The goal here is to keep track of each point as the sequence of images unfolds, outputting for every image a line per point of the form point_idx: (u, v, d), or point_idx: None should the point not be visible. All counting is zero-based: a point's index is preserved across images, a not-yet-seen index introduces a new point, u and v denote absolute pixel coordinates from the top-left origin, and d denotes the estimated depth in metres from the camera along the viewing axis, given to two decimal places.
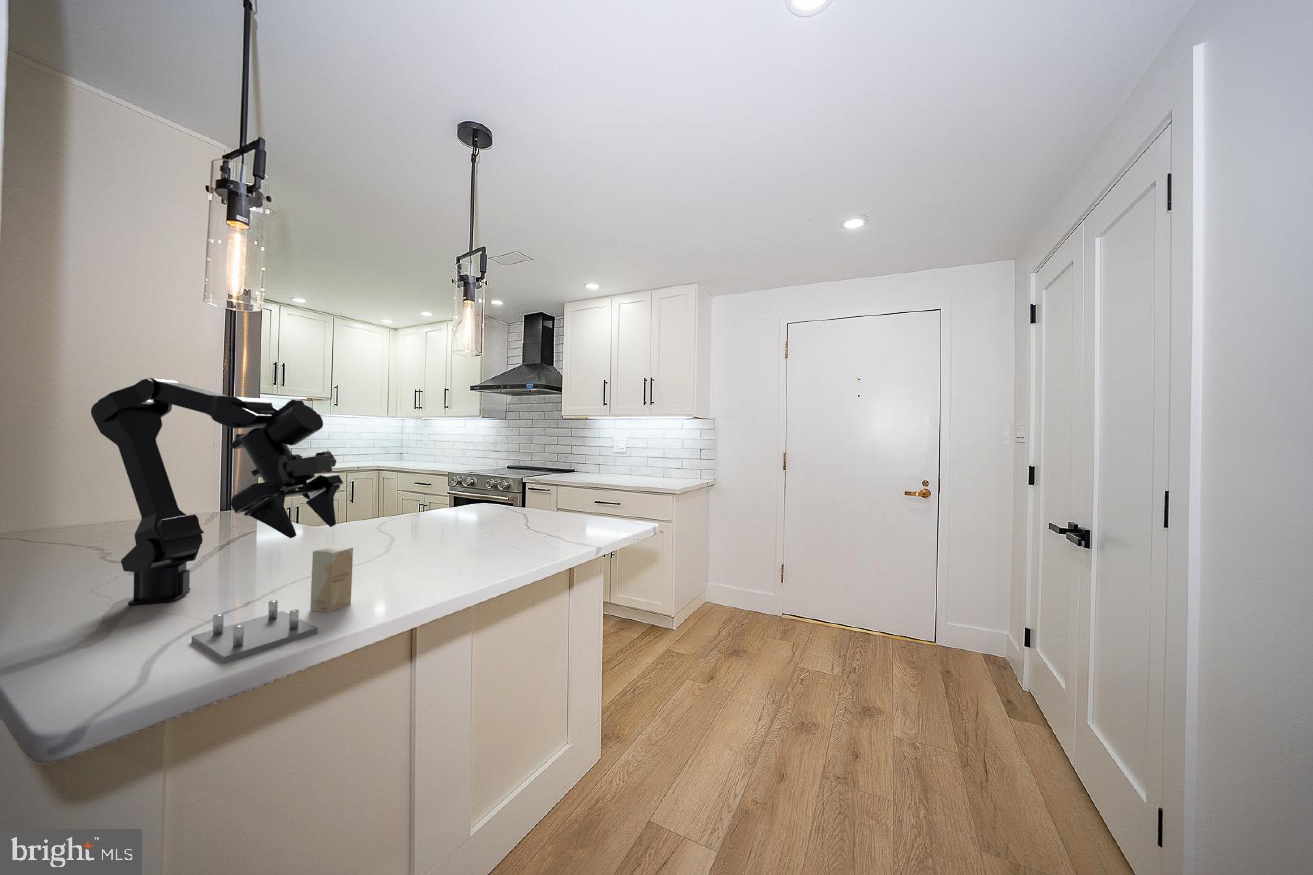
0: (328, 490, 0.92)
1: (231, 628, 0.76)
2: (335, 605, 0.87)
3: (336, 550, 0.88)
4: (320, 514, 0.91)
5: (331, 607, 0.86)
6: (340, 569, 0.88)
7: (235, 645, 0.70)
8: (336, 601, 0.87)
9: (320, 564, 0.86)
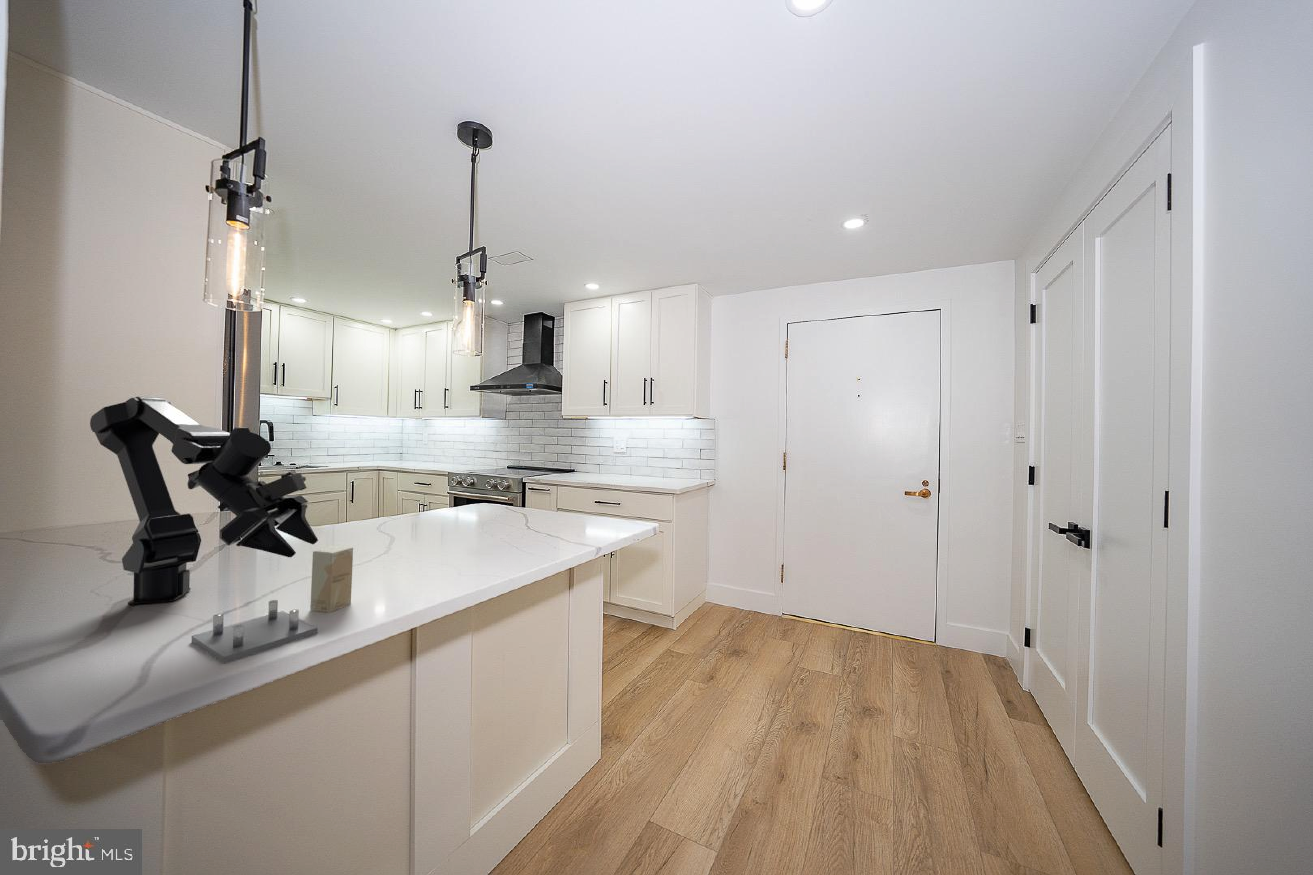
0: (300, 510, 0.91)
1: (231, 628, 0.76)
2: (335, 605, 0.87)
3: (336, 550, 0.88)
4: (297, 535, 0.91)
5: (331, 607, 0.86)
6: (340, 569, 0.88)
7: (235, 645, 0.70)
8: (336, 601, 0.87)
9: (320, 564, 0.86)
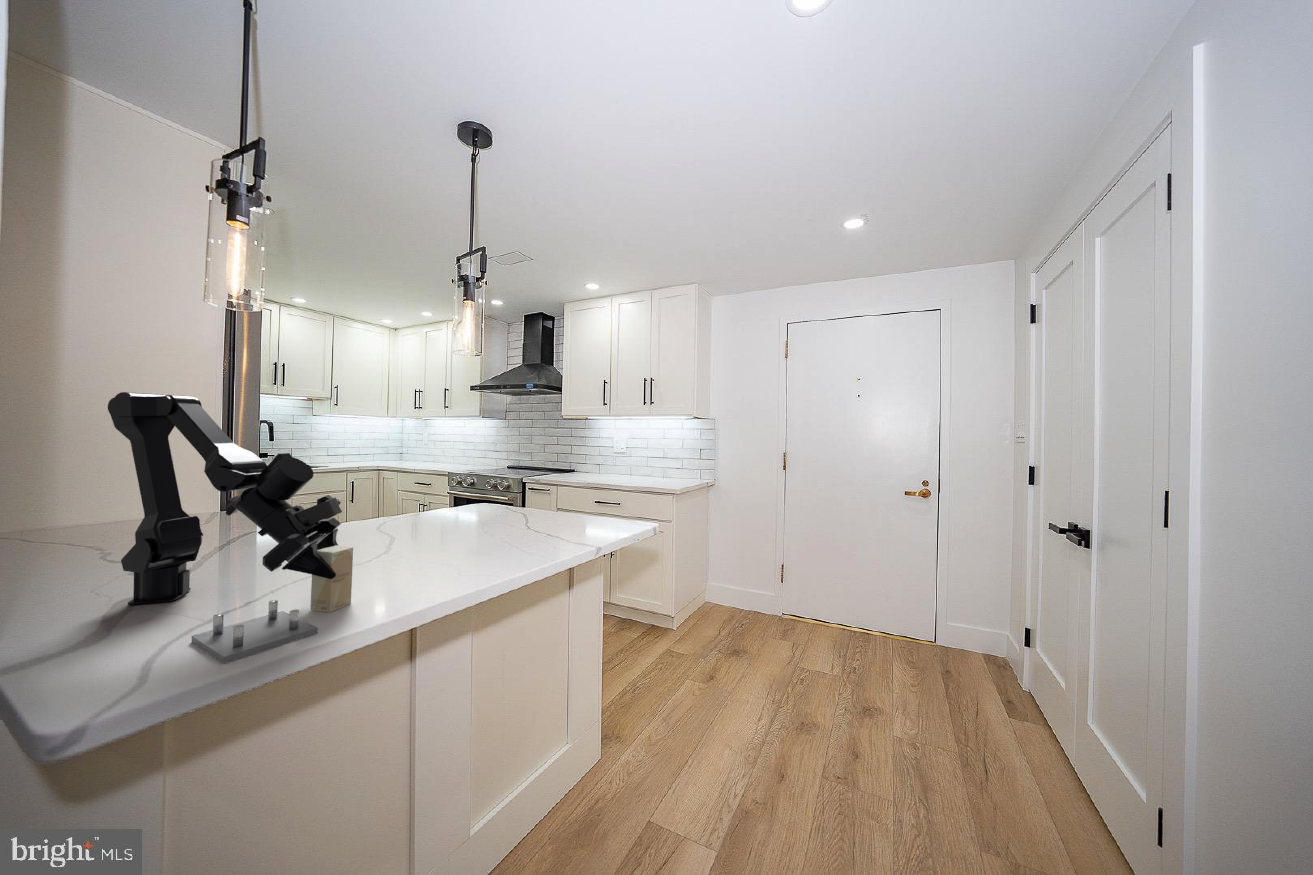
0: (331, 534, 0.92)
1: (231, 628, 0.76)
2: (335, 605, 0.87)
3: (336, 550, 0.88)
4: None
5: (331, 607, 0.86)
6: (340, 568, 0.88)
7: (235, 645, 0.70)
8: (336, 601, 0.87)
9: None
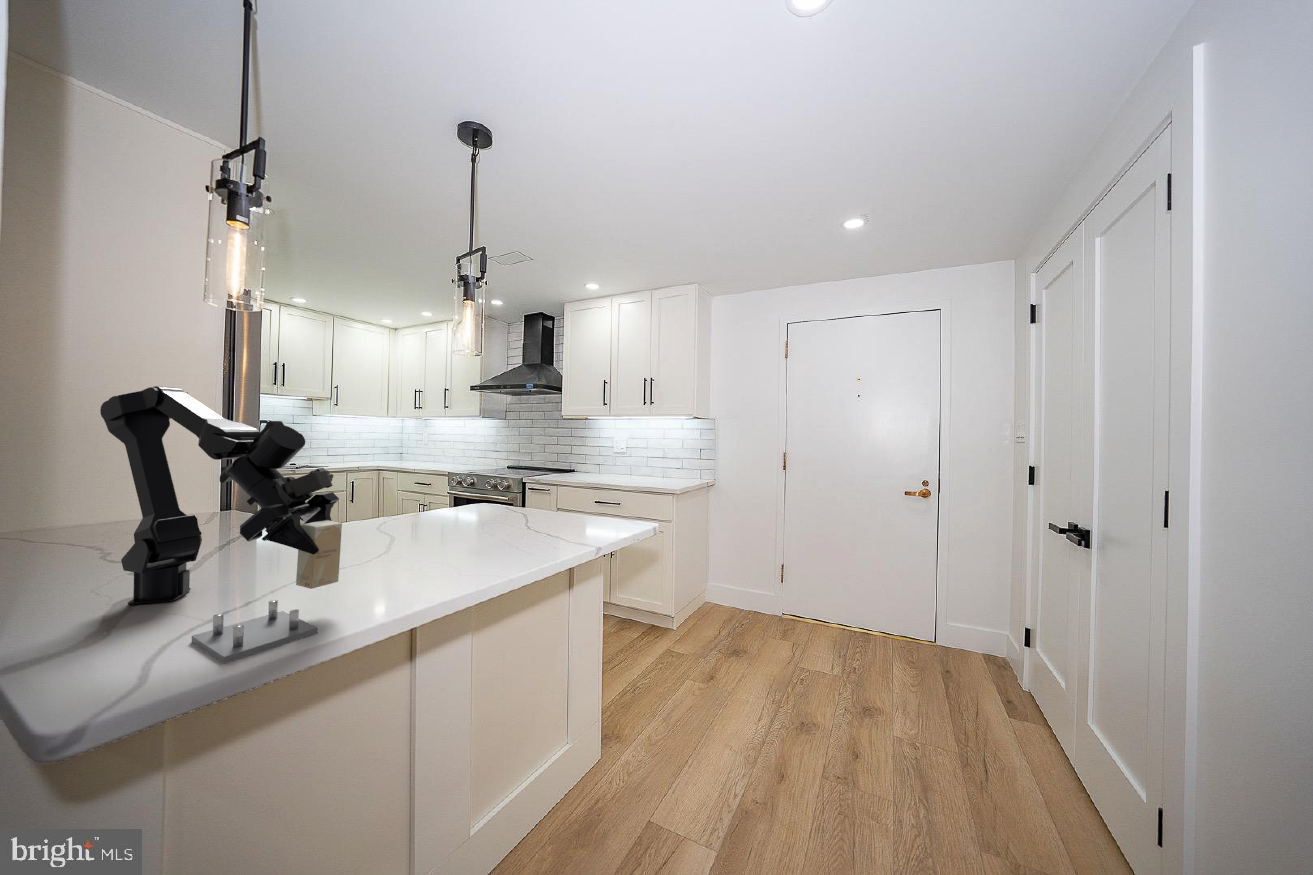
0: (324, 509, 0.89)
1: (231, 628, 0.76)
2: (319, 582, 0.84)
3: (322, 525, 0.84)
4: None
5: (314, 583, 0.83)
6: (326, 544, 0.84)
7: (235, 645, 0.70)
8: (320, 578, 0.84)
9: None
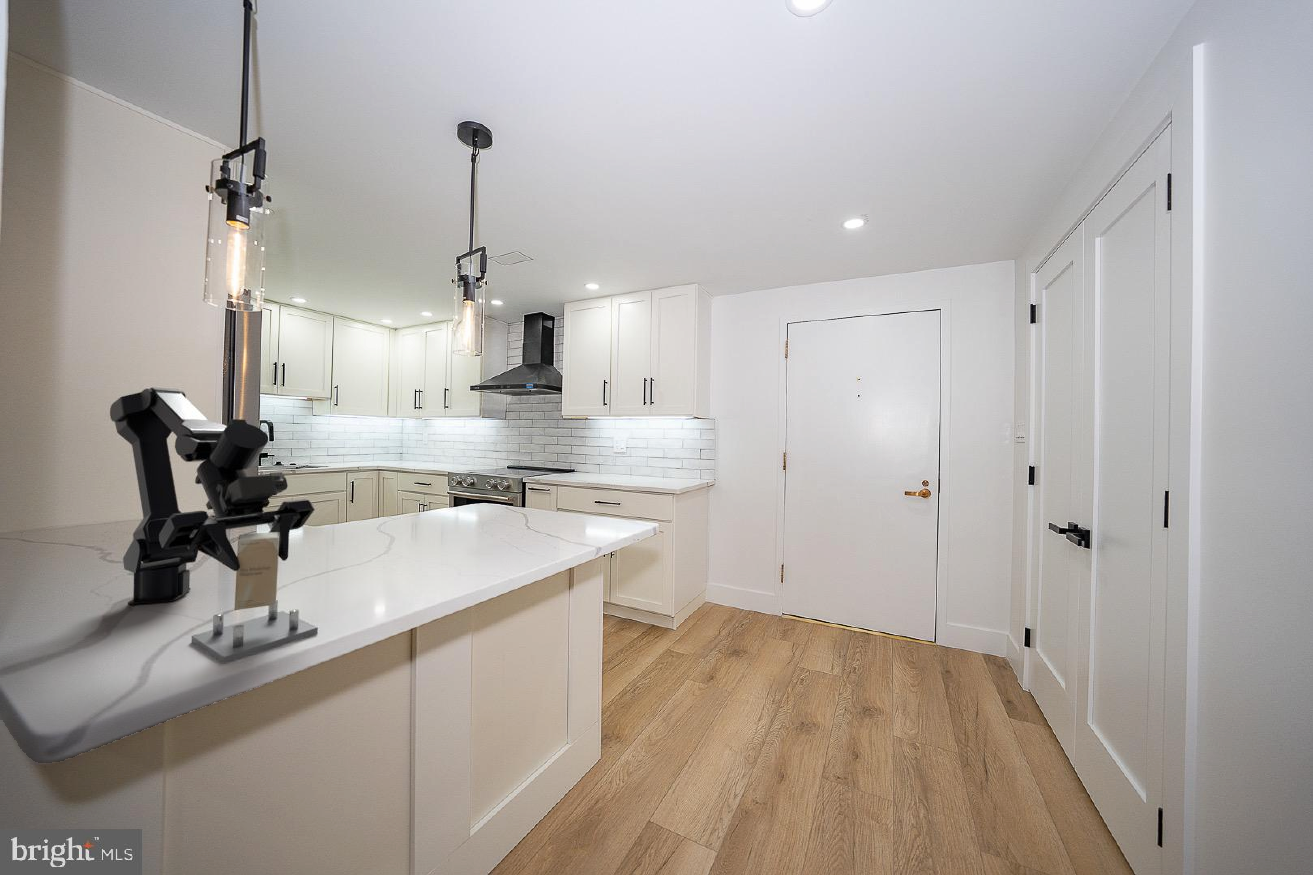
0: (280, 518, 0.79)
1: (231, 628, 0.76)
2: (246, 603, 0.73)
3: (252, 537, 0.74)
4: None
5: (238, 605, 0.73)
6: (254, 560, 0.73)
7: (235, 645, 0.70)
8: (247, 598, 0.73)
9: None
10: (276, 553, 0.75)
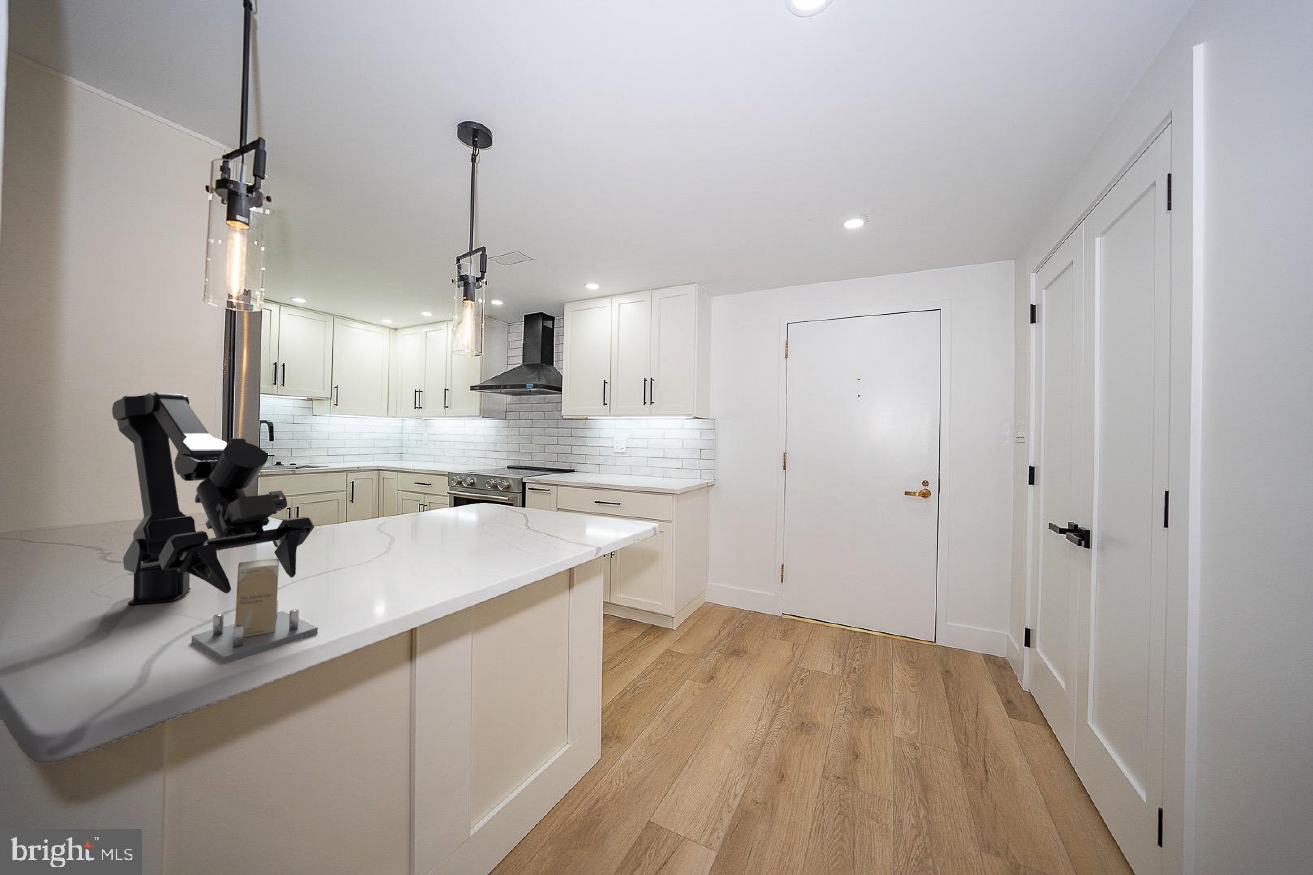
0: (287, 535, 0.80)
1: (231, 628, 0.76)
2: (246, 631, 0.73)
3: (252, 565, 0.74)
4: (283, 564, 0.80)
5: None
6: (254, 588, 0.74)
7: (235, 645, 0.70)
8: (247, 626, 0.73)
9: None
10: (276, 580, 0.75)
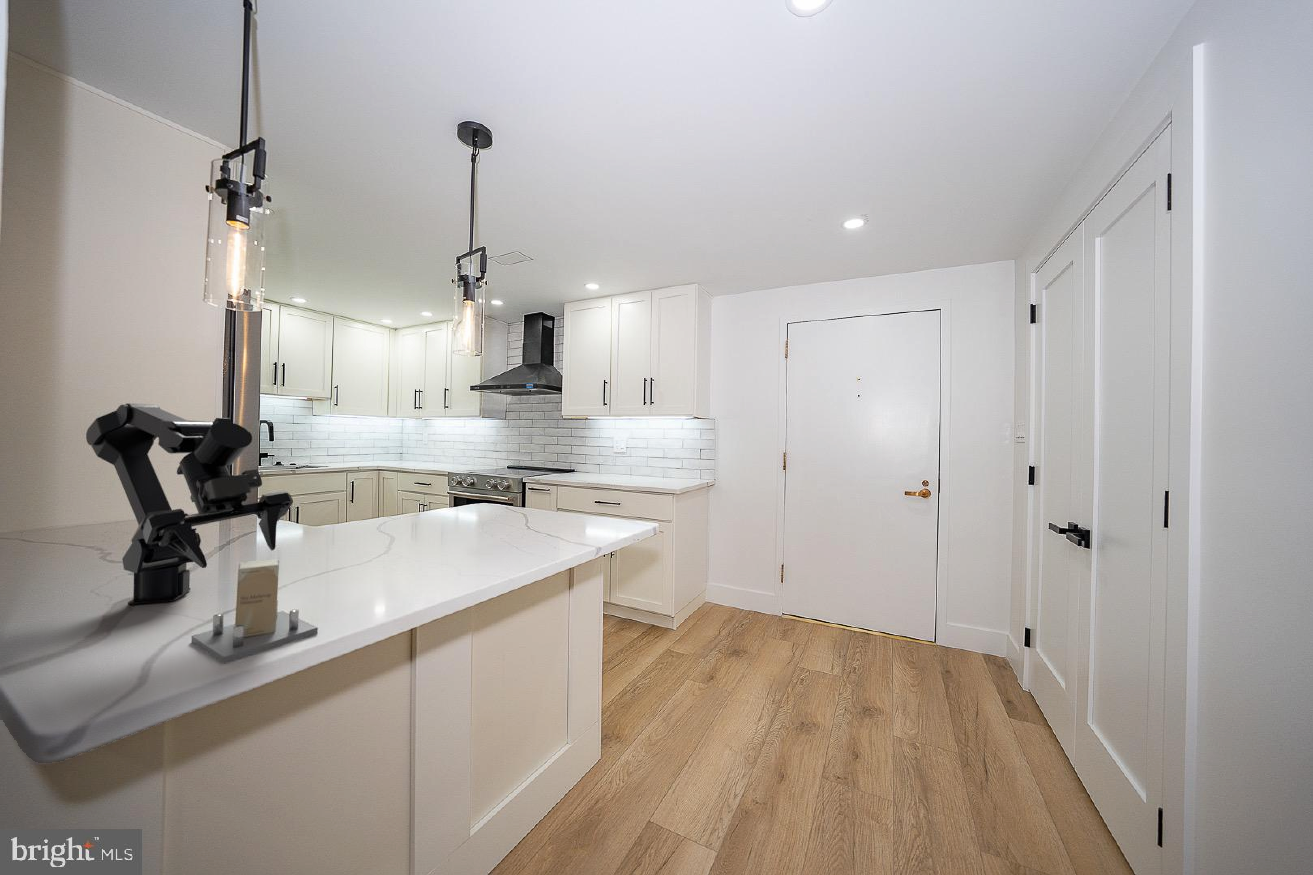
0: (267, 511, 0.84)
1: (231, 628, 0.76)
2: (246, 631, 0.73)
3: (252, 565, 0.74)
4: (265, 536, 0.85)
5: None
6: (254, 588, 0.74)
7: (235, 645, 0.70)
8: (247, 626, 0.73)
9: None
10: (276, 580, 0.75)
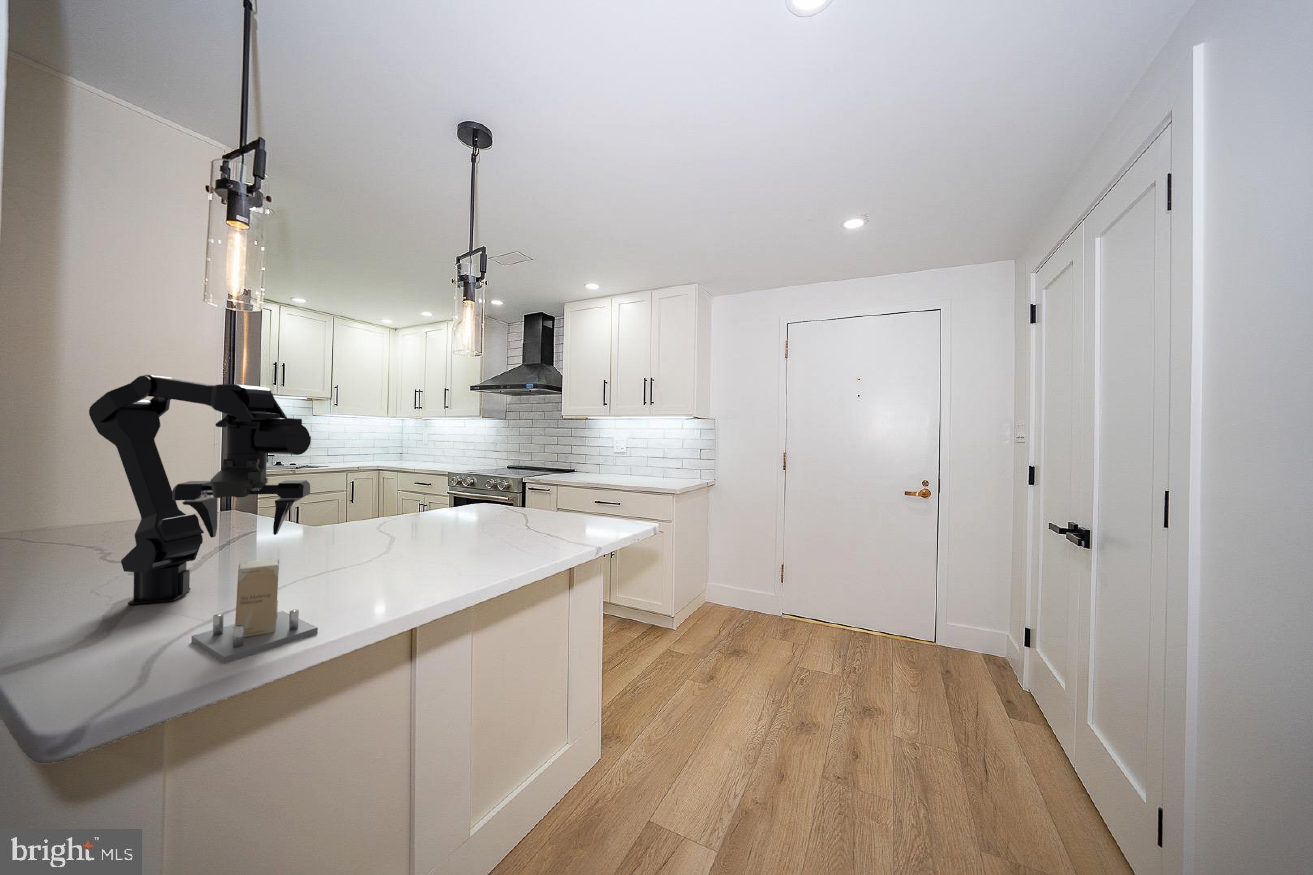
0: None
1: (231, 628, 0.76)
2: (246, 631, 0.73)
3: (252, 565, 0.74)
4: None
5: None
6: (254, 588, 0.74)
7: (235, 645, 0.70)
8: (247, 626, 0.73)
9: None
10: (276, 580, 0.75)
